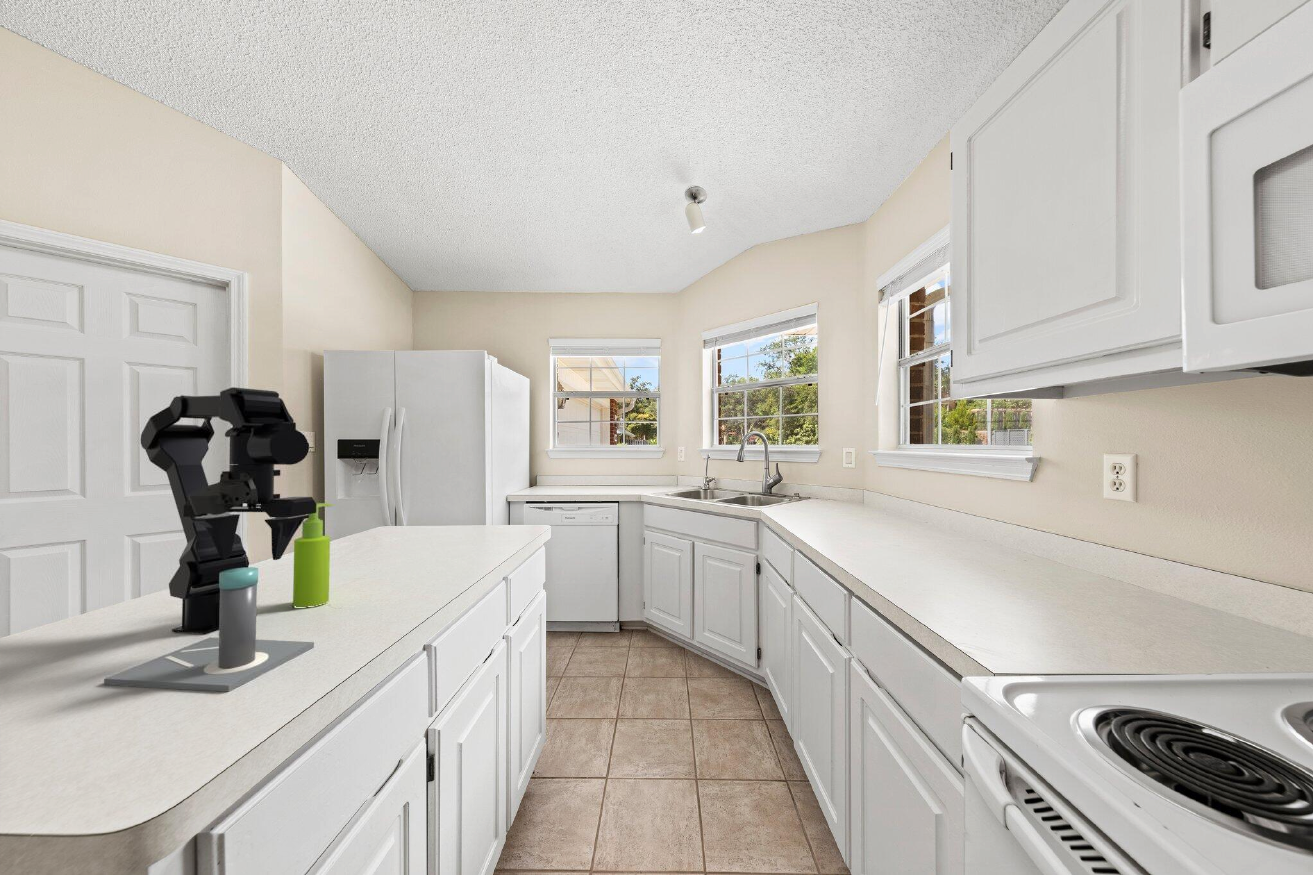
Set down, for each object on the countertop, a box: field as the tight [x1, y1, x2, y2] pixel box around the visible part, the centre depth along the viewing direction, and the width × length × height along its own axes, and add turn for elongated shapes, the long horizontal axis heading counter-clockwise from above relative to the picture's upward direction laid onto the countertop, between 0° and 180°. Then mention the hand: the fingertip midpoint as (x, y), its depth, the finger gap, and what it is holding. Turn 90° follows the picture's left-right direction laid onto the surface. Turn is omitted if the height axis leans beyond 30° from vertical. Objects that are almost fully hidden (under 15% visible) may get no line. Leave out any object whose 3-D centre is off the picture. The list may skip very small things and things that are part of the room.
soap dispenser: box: [292, 502, 333, 607], centre depth 98 cm, size 6×7×20 cm
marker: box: [218, 566, 259, 669], centre depth 69 cm, size 4×4×13 cm
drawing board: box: [103, 636, 315, 693], centre depth 71 cm, size 18×14×1 cm
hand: (250, 559), depth 80 cm, fingers open, 9 cm apart
